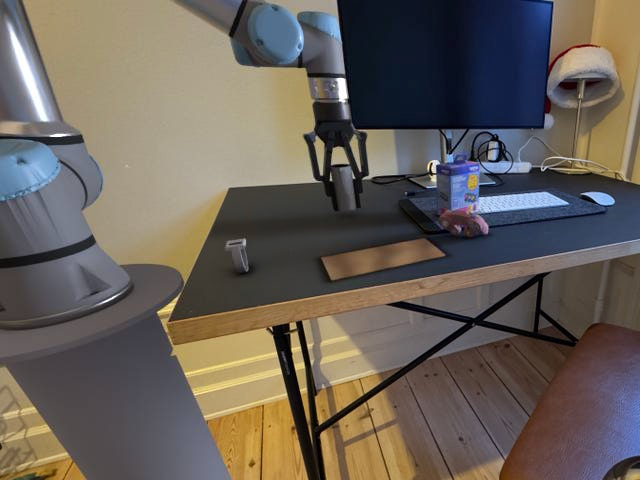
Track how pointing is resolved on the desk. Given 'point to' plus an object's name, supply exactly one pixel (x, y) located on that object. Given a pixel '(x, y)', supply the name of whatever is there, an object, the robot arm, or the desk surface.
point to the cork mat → (379, 258)
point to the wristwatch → (238, 254)
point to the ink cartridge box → (457, 185)
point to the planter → (344, 187)
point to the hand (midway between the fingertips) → (346, 208)
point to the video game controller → (463, 222)
